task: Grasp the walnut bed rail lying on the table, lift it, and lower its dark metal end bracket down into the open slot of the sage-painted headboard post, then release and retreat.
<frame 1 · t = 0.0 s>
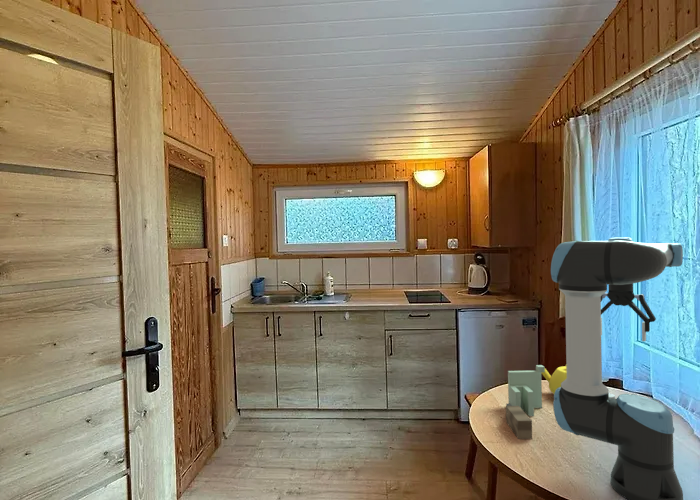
hand: (621, 338, 150), 28 cm above the table, fingers open, 13 cm apart
headboard: (521, 412, 155), on the table
teapot: (564, 397, 168), on the table
pill bottle: (607, 422, 145), on the table
rail: (518, 430, 141), on the table
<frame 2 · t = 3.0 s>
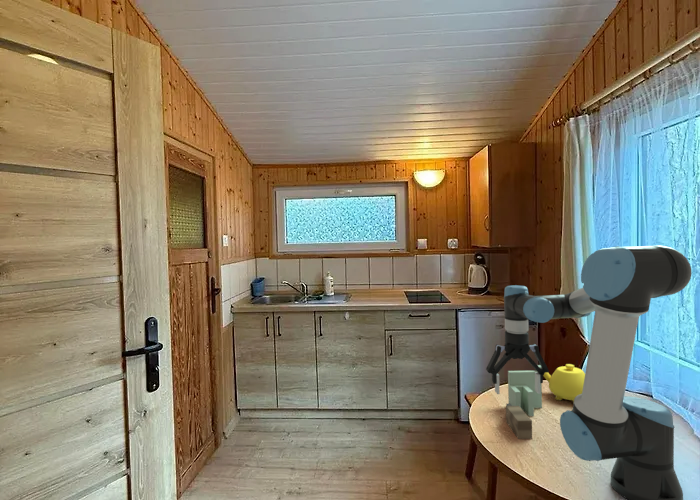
hand: (517, 392, 141), 13 cm above the table, fingers open, 13 cm apart
nothing on the table moved.
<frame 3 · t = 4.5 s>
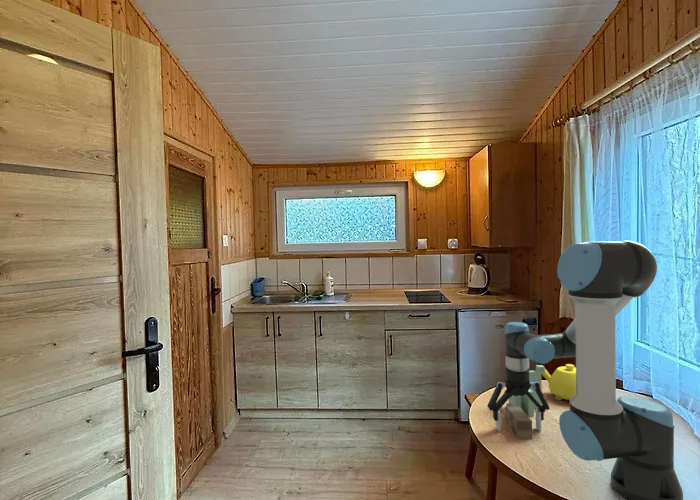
hand: (518, 429, 141), 0 cm above the table, fingers open, 13 cm apart
nothing on the table moved.
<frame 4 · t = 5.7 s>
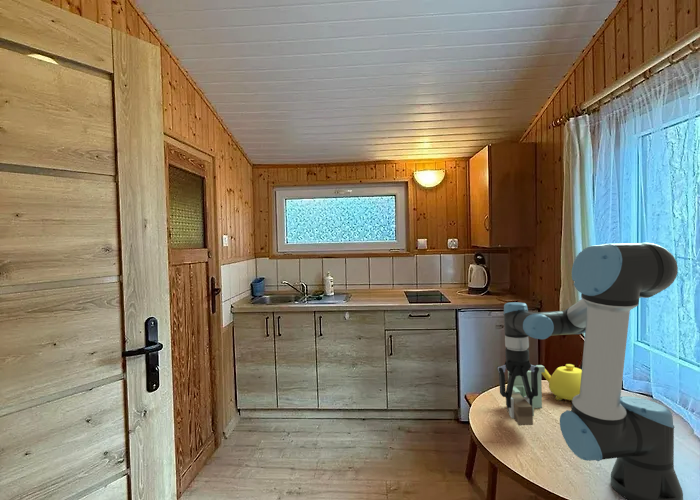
hand: (519, 416, 140), 5 cm above the table, fingers closed on rail, 4 cm apart
rail: (519, 417, 140), point 5 cm above the table, touching gripper
everything else where it was.
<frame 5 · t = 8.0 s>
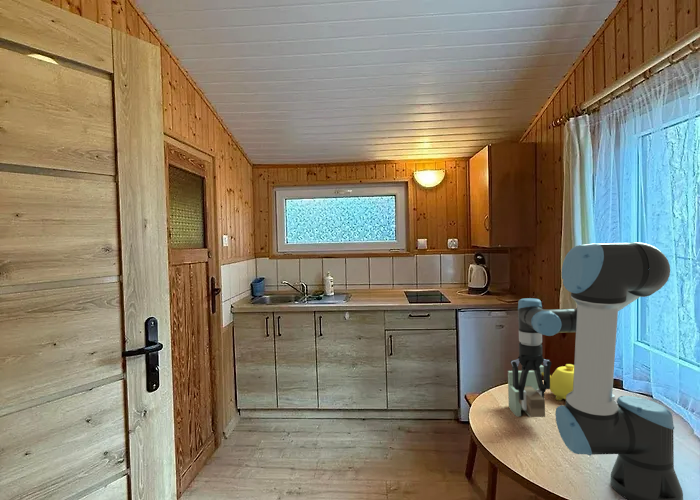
hand: (531, 408, 145), 6 cm above the table, fingers closed on rail, 4 cm apart
rail: (531, 409, 145), point 5 cm above the table, touching gripper
everything else where it was.
when the fingers open (0 cm above the table, at t = 10.6 s): rail stays where it is, on the table.
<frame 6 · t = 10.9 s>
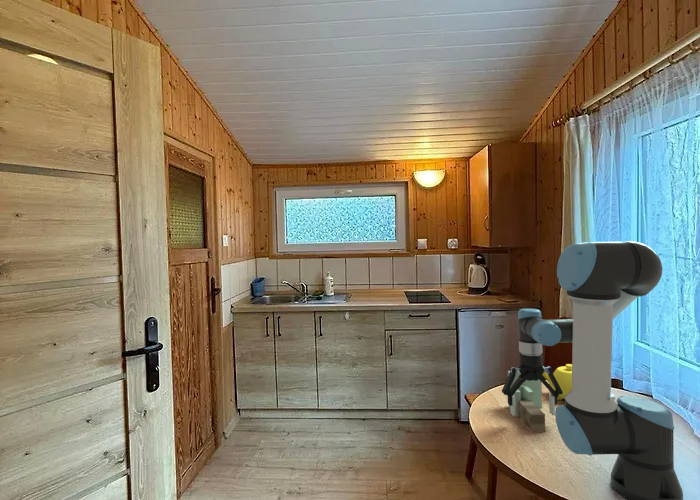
hand: (532, 414, 144), 4 cm above the table, fingers open, 13 cm apart
rail: (531, 424, 145), on the table
everything else where it was.
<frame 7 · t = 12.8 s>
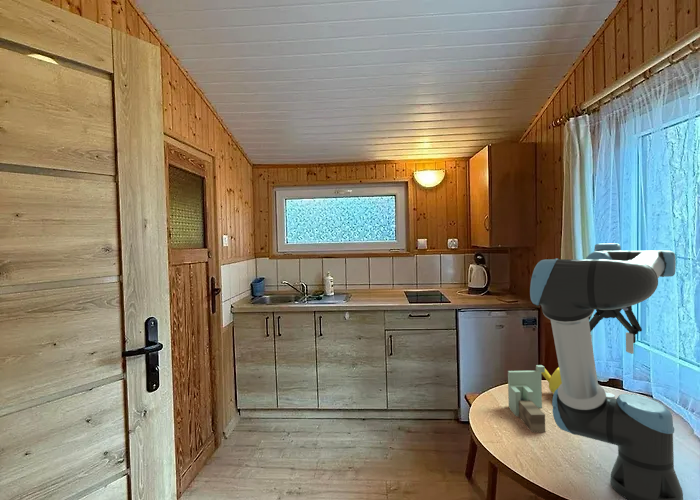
hand: (609, 353, 137), 26 cm above the table, fingers open, 13 cm apart
nothing on the table moved.
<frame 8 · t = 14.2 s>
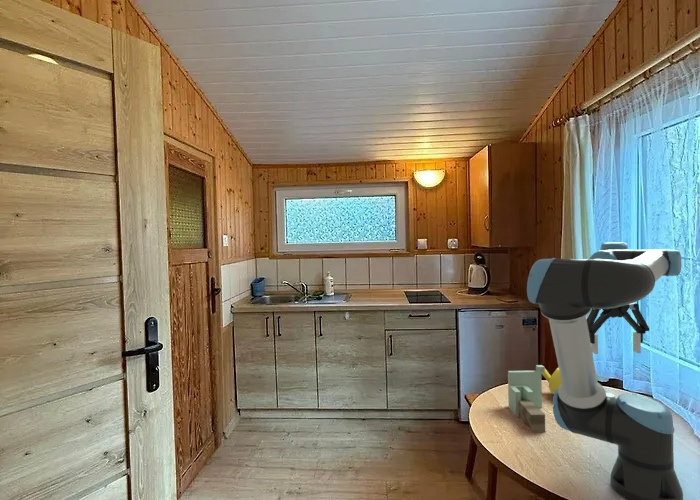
hand: (615, 352, 137), 27 cm above the table, fingers open, 13 cm apart
nothing on the table moved.
at the end: rail 0.5 cm from the target spot on the table beside the headboard, on the table; rail tilted 0°; the gripper is holding nothing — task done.
